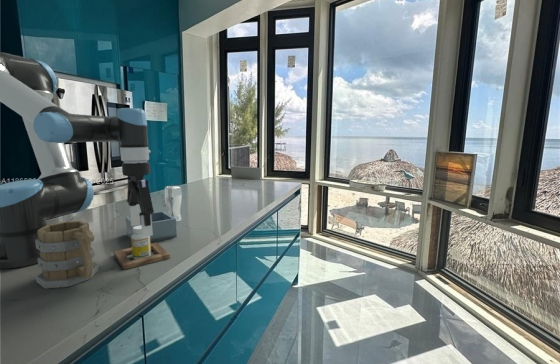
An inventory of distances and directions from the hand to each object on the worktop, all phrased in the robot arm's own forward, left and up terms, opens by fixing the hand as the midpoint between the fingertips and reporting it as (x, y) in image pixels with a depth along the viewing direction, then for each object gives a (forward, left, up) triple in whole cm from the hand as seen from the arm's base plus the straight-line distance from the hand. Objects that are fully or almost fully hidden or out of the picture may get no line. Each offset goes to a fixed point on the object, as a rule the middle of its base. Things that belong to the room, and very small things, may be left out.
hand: (141, 230), depth 90 cm
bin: (+8, +18, -9) cm, 22 cm away
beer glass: (+22, +33, -9) cm, 41 cm away
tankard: (-18, -5, -9) cm, 21 cm away
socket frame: (0, 0, -9) cm, 9 cm away
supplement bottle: (0, 0, -9) cm, 9 cm away
